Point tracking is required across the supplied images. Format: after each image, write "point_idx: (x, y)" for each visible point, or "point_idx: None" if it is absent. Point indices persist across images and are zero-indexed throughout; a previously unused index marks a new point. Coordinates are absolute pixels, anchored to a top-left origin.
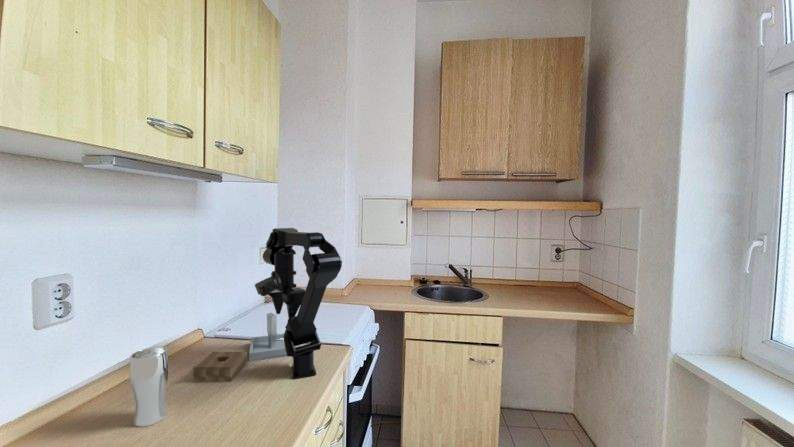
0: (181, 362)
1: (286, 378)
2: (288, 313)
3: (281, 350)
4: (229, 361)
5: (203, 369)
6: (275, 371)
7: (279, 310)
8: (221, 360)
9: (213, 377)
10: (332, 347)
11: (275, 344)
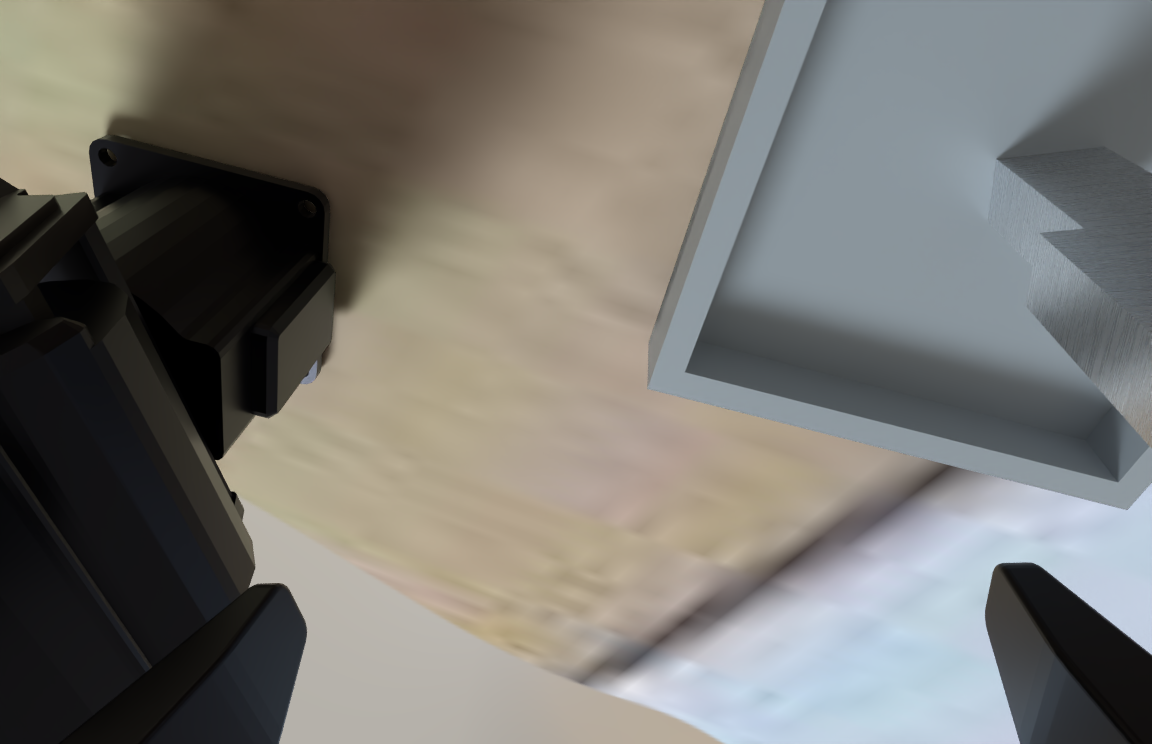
0: None
1: (146, 85)
2: (96, 741)
3: (700, 229)
4: None
5: None
6: (352, 28)
7: (1020, 686)
8: None
9: None
10: (605, 607)
11: (1002, 232)
